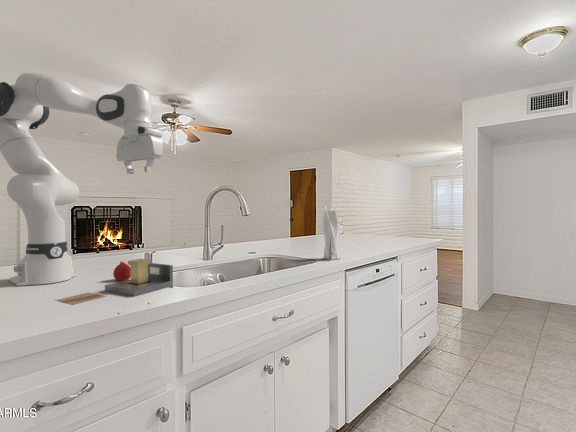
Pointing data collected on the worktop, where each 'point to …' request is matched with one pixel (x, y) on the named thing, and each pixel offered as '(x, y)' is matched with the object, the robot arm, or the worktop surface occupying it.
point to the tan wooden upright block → (139, 271)
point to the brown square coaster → (80, 298)
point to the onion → (122, 272)
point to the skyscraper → (330, 234)
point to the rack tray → (157, 280)
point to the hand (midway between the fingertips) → (138, 172)
